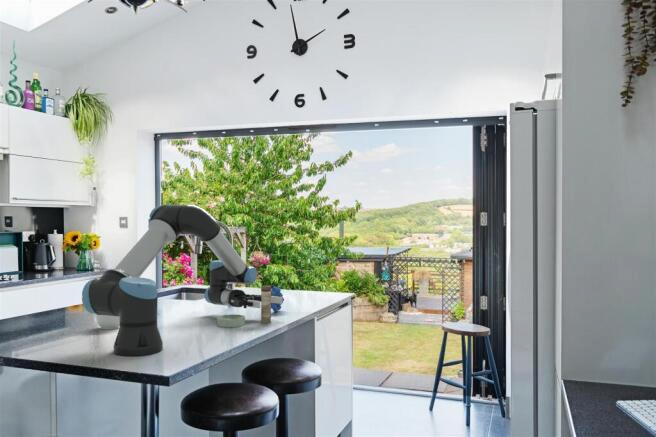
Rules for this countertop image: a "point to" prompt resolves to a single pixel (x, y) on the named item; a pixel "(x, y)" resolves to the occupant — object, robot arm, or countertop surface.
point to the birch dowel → (265, 304)
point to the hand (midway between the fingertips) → (271, 302)
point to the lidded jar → (108, 321)
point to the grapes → (277, 293)
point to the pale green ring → (231, 320)
